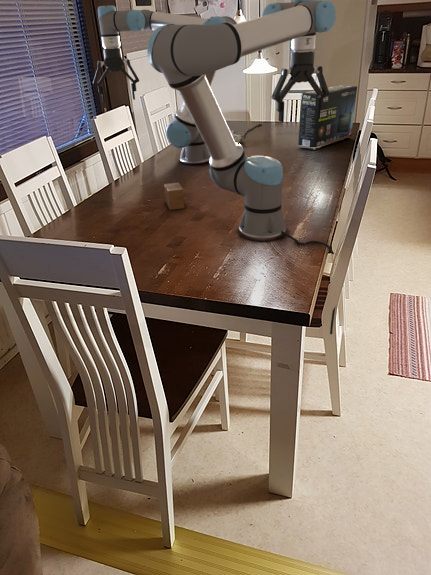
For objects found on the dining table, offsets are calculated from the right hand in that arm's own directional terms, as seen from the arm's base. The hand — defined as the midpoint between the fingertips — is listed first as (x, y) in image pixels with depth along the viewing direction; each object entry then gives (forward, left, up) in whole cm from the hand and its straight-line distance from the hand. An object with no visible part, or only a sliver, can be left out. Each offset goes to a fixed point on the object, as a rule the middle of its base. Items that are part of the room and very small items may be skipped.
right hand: (299, 119), depth 159 cm
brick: (+39, +24, -29) cm, 54 cm away
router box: (+17, -86, -29) cm, 92 cm away
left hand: (+91, -11, 0) cm, 92 cm away
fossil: (+66, -66, -29) cm, 97 cm away
